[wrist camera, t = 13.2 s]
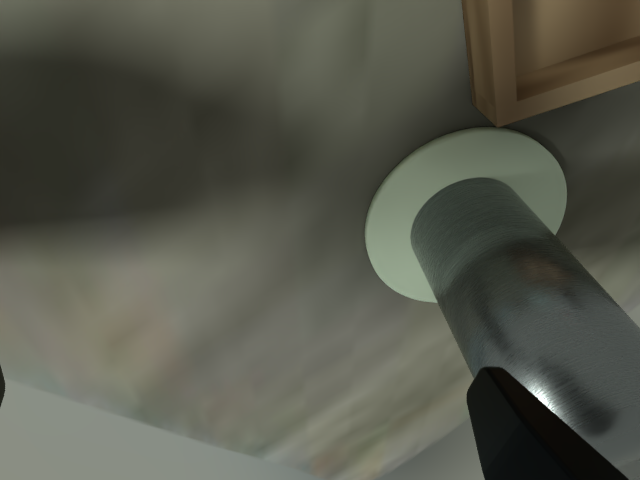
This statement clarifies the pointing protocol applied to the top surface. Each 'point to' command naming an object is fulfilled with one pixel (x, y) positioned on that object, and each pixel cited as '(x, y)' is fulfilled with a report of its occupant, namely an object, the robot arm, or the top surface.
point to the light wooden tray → (548, 53)
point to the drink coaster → (447, 168)
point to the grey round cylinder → (533, 312)
